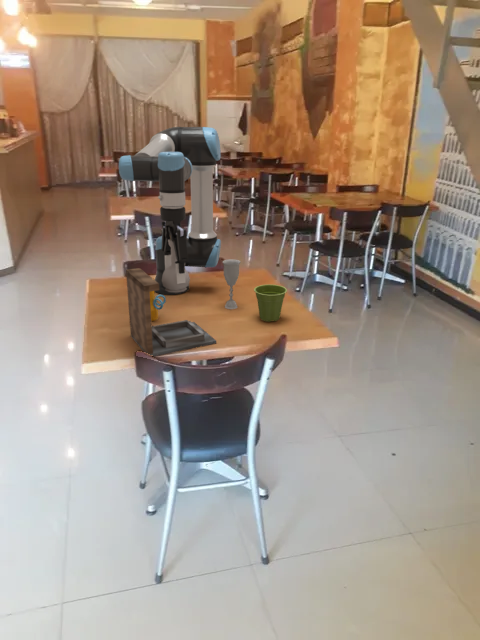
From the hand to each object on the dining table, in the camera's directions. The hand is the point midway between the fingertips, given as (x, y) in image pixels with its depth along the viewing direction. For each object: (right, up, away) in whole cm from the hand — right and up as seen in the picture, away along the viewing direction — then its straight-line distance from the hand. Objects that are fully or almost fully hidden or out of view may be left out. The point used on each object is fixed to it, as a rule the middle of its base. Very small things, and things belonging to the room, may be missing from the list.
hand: (175, 278), depth 158 cm
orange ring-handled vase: (-12, -13, +24) cm, 30 cm away
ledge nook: (-2, -19, +7) cm, 21 cm away
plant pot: (+31, -13, +26) cm, 43 cm away
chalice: (+17, -8, +37) cm, 41 cm away
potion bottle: (0, -3, +1) cm, 4 cm away
